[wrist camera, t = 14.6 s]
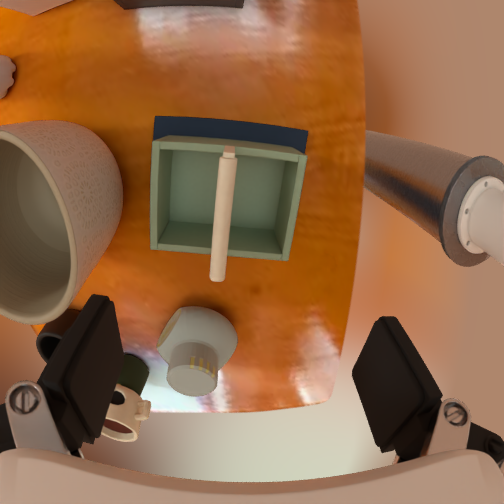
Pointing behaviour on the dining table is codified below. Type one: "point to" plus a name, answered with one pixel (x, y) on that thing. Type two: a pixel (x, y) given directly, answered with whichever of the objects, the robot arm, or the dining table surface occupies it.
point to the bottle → (6, 74)
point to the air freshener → (196, 349)
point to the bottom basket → (178, 3)
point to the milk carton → (32, 5)
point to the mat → (230, 131)
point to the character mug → (127, 402)
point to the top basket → (224, 198)
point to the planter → (53, 215)
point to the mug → (54, 333)
